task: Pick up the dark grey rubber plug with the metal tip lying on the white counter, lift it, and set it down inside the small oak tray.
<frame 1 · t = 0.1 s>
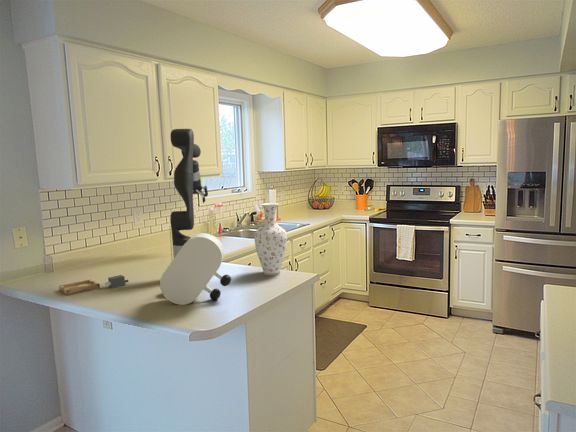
hand: (196, 202, 269), 31 cm above the worktop, tool tilted 20°, fingers open, 8 cm apart
tray: (79, 289, 203), on the worktop
robot: (197, 301, 183), on the worktop
vase: (271, 273, 223), on the worktop
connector: (117, 286, 207), on the worktop
bird feeder: (173, 294, 193), on the worktop
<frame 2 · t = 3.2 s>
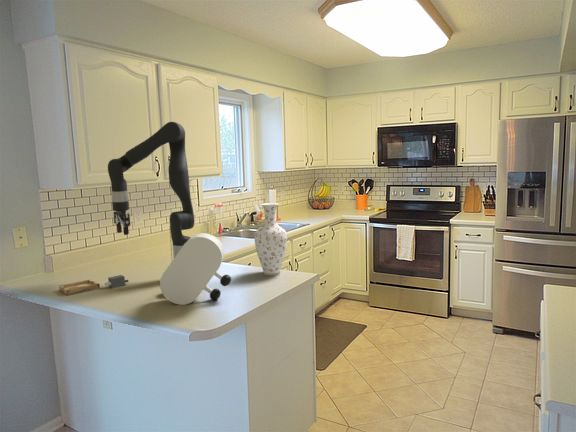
hand: (122, 233, 216), 23 cm above the worktop, tool pointing down, fingers open, 8 cm apart
nothing on the worktop moved.
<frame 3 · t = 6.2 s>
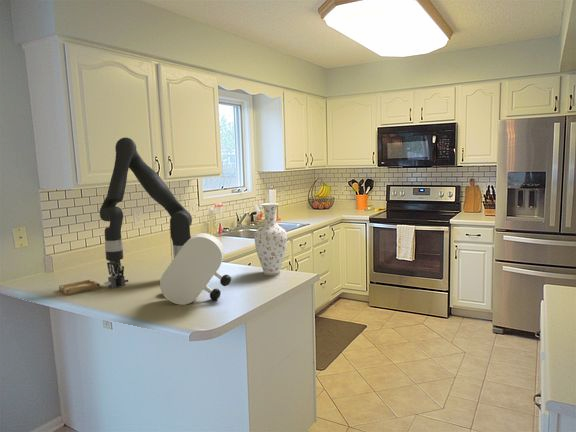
hand: (116, 285, 207), 0 cm above the worktop, tool pointing down, fingers closed on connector, 4 cm apart
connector: (116, 286, 207), on the worktop, touching gripper
everything else where it was.
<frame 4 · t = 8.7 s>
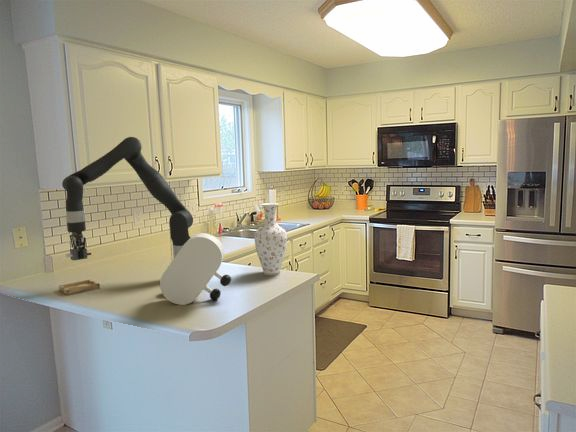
hand: (79, 257, 202), 15 cm above the worktop, tool pointing down, fingers closed on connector, 4 cm apart
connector: (79, 258, 202), point 14 cm above the worktop, touching gripper
everything else where it was.
when the fingers open (3 cm above the worktop, at t = 11.1 s): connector drops 1 cm, resting on tray.
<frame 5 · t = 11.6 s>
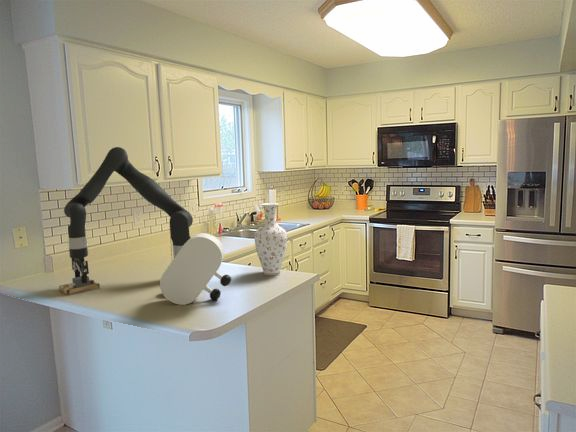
hand: (81, 281, 203), 4 cm above the worktop, tool pointing down, fingers open, 8 cm apart
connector: (81, 287, 204), point 1 cm above the worktop, touching tray
everything else where it was.
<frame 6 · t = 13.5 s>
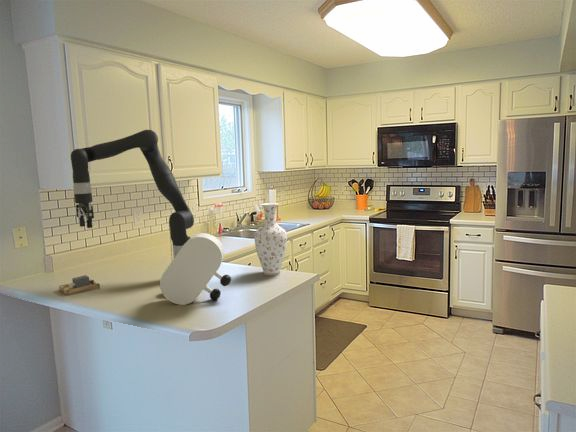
hand: (86, 227, 207), 28 cm above the worktop, tool pointing down, fingers open, 8 cm apart
nothing on the worktop moved.
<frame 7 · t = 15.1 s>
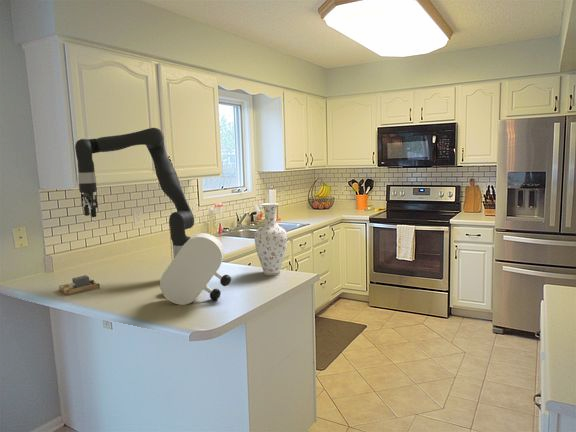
hand: (90, 216, 211), 32 cm above the worktop, tool pointing down, fingers open, 8 cm apart
nothing on the worktop moved.
at the end: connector inside the target area on the tray (1.0 cm from its centre), point 0.9 cm above the tray's base; the gripper is holding nothing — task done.
